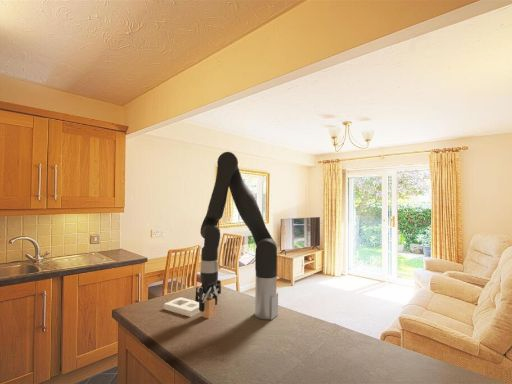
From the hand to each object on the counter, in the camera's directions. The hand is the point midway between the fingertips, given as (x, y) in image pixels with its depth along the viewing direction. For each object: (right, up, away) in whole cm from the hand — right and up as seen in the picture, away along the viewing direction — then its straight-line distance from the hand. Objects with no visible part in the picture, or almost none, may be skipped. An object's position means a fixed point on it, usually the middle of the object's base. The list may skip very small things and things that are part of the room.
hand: (208, 307), depth 120 cm
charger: (0, -3, 0) cm, 3 cm away
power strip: (-12, -3, +7) cm, 14 cm away
